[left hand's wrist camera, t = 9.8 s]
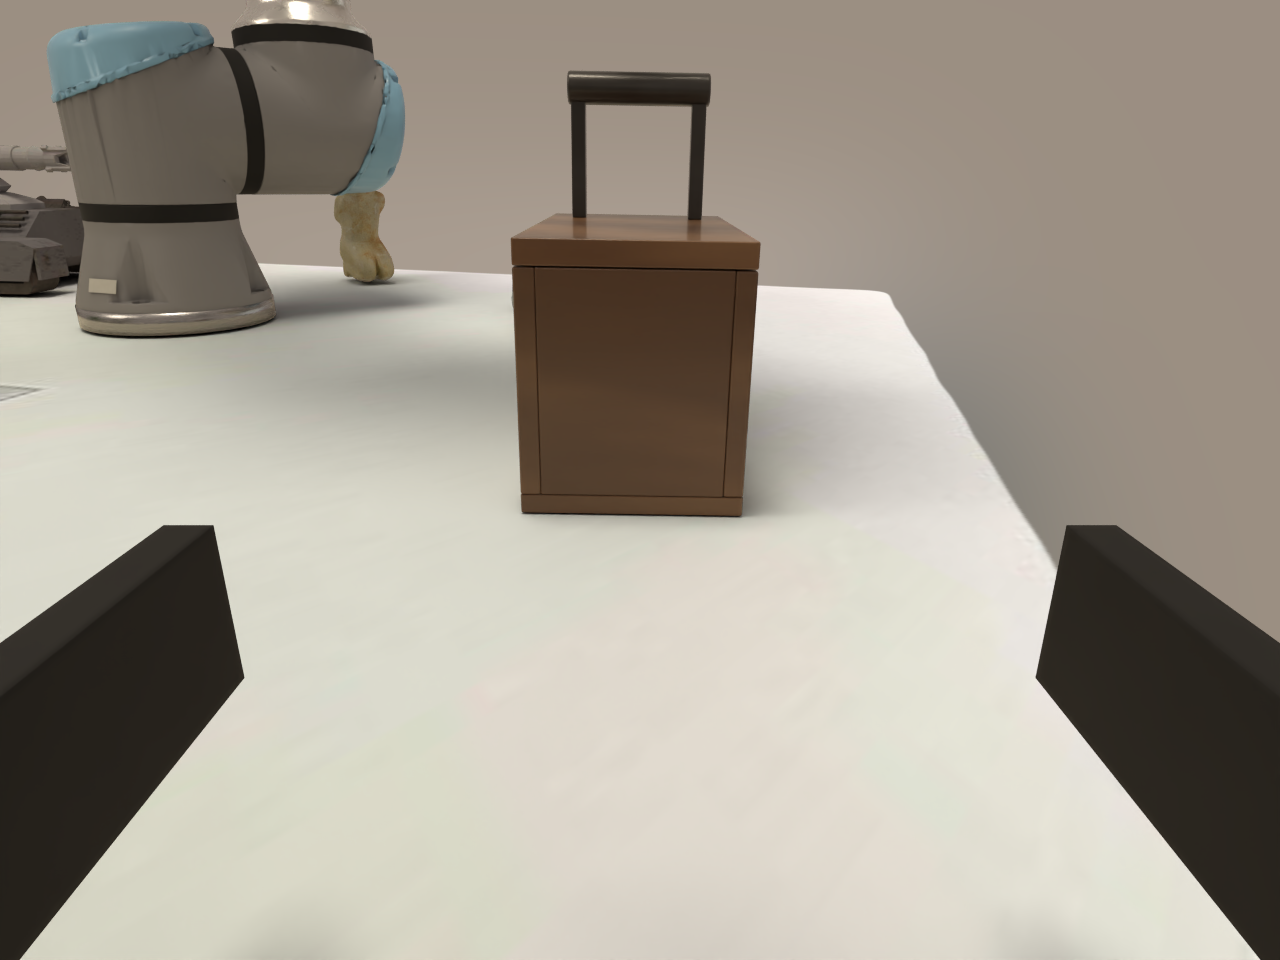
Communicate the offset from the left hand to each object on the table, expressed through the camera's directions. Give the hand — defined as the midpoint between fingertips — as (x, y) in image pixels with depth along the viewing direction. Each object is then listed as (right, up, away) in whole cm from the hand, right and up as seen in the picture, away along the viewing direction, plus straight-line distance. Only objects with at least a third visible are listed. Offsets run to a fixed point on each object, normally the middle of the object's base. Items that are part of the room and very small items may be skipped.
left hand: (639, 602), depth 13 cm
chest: (0, +3, +28) cm, 28 cm away
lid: (0, +13, +25) cm, 28 cm away
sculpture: (-33, +26, +84) cm, 94 cm away
